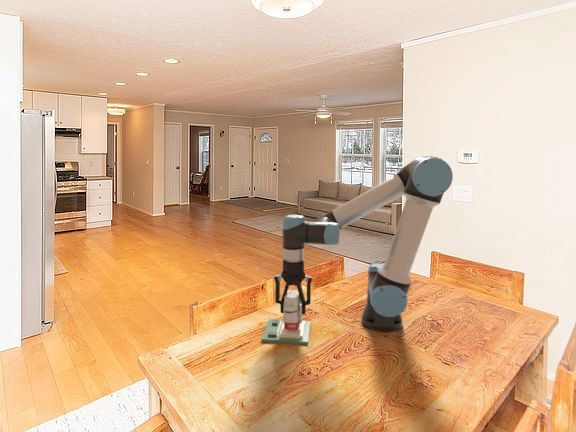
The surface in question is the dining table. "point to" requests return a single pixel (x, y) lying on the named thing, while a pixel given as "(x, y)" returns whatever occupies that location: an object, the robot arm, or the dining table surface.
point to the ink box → (292, 310)
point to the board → (286, 333)
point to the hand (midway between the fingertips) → (292, 321)
